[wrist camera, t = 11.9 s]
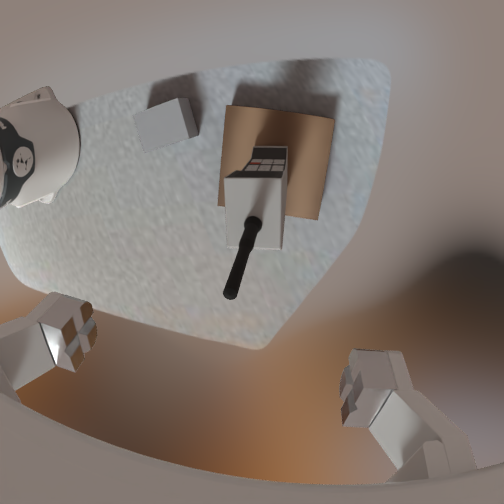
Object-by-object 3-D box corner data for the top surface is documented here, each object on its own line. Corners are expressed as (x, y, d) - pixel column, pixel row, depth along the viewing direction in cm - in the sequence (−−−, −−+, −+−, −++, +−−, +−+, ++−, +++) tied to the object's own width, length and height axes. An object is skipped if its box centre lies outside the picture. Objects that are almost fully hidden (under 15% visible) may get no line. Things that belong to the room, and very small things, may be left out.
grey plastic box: (157, 148, 39) (144, 153, 36) (146, 113, 37) (132, 115, 34) (199, 134, 38) (189, 138, 34) (188, 98, 36) (177, 97, 32)
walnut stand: (222, 198, 41) (217, 205, 38) (231, 105, 36) (226, 105, 33) (316, 212, 40) (317, 220, 38) (331, 118, 35) (334, 119, 32)
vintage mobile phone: (287, 145, 34) (275, 228, 12) (287, 188, 36) (273, 333, 14) (254, 145, 35) (178, 226, 12) (254, 187, 37) (192, 327, 15)
